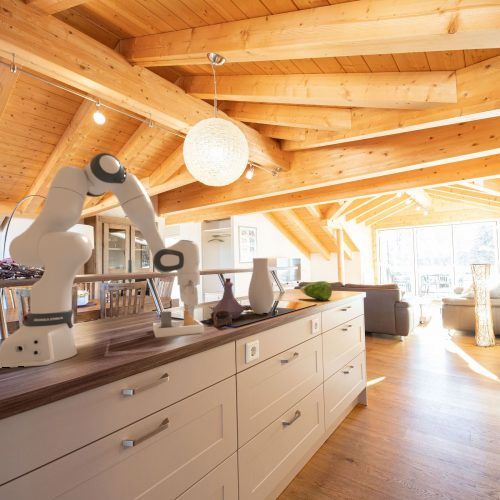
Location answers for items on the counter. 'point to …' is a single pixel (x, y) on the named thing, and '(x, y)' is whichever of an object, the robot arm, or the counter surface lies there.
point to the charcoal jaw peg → (166, 319)
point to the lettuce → (318, 290)
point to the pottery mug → (221, 318)
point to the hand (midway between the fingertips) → (189, 314)
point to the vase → (260, 287)
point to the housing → (177, 329)
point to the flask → (229, 301)
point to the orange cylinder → (188, 319)
